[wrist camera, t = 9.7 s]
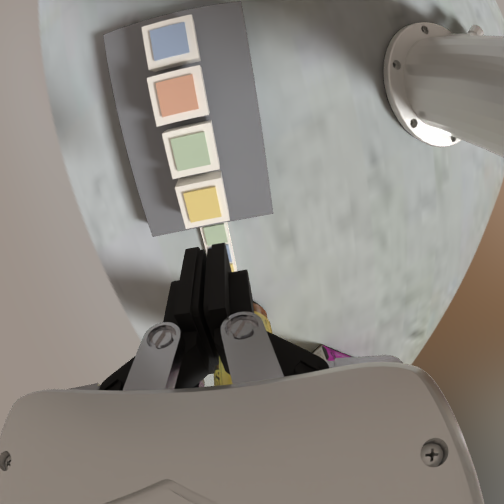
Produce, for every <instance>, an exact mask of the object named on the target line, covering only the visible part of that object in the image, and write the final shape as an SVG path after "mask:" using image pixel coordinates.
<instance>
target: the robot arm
mask: <svg viewBox="0 0 504 504" xmlns="http://www.w3.org/2000/svg"><path fill="white" fill-rule="evenodd" d="M483 35H484V32H483V30H482V29H481V28H480V27H479V26H477V25H473V26H472V27H471V28H470V30H469V31H468V33H463V34H453V33H452V32H451V31H449V30H448V29H446V28H444V27H442V26H440V25H437V24H434V23H428V22H420V23H414V24H411V25H407V26H405V27H404V28H402V29H401V30H399V31H398V32H397V33H396V34H395V35H394V37H393V38H392V39H391V41H390V43H389V45H388V47H387V51H386V54H385V58H384V70H383V74H384V85H385V89H386V93H387V98H388V100H389V103H390V105H391V108H392V110H393V112H394V114H395V116H396V117H397V119H398V121H399V122H400V123H401V125H402V126H403V127H404V128H405V130H406V131H408V132H409V133H410V134H411V135H412V136H413V137H415V138H416V139H418V140H420V141H421V142H424V143H426V144H429V145H431V146H437V147H448V146H452V145H455V144H457V143H458V142H460V141H461V140H463V141H466V142H469V143H471V144H474V145H476V146H478V147H481V148H483V149H486V150H488V151H490V152H492V153H495V154H497V155H499V156H501V157H503V158H504V37H503V36H483ZM219 357H220V360H221V362H222V364H223V366H224V369H225V372H227V373H228V374H230V375H231V379H232V383H233V384H229V385H220V386H210V387H204V383H205V382H204V378H205V377H206V376H207V375H208V374H213V373H215V365H219ZM422 446H423V447H422ZM0 504H484V501H483V497H482V493H481V489H480V485H479V481H478V477H477V474H476V471H475V468H474V465H473V462H472V459H471V456H470V453H469V450H468V448H467V445H466V442H465V440H464V437H463V434H462V432H461V429H460V427H459V425H458V423H457V420H456V418H455V416H454V414H453V412H452V410H451V408H450V406H449V404H448V402H447V400H446V399H445V397H444V395H443V393H442V392H441V390H440V389H439V387H438V385H437V384H436V383H435V381H434V380H433V379H432V378H431V377H430V376H429V375H428V374H427V373H426V372H425V371H423V370H422V369H420V368H418V367H416V366H413V365H409V364H404V363H403V362H402V361H401V360H400V359H399V358H397V357H394V356H391V355H380V356H365V357H345V358H335V361H325V360H324V359H323V358H321V357H319V356H317V355H315V354H313V353H311V352H309V351H307V350H305V349H303V348H300V347H298V346H296V345H294V344H292V343H290V342H288V341H286V340H284V339H282V338H280V337H278V336H276V335H274V334H272V333H270V332H268V331H266V329H265V326H264V323H263V321H262V319H261V318H260V317H259V316H258V315H257V314H255V313H254V307H253V299H252V293H251V287H250V282H249V276H248V271H247V270H242V271H236V272H232V271H231V267H230V262H229V258H228V253H227V249H226V245H225V242H224V243H218V244H213V245H212V248H209V249H207V257H206V253H205V250H204V249H203V250H200V248H199V247H195V248H189V249H186V250H185V255H184V260H183V265H182V270H181V276H180V280H179V281H173V282H172V283H171V287H170V291H169V296H168V301H167V306H166V311H165V316H164V321H163V322H162V323H159V324H156V325H154V326H152V327H151V328H149V329H148V330H147V331H146V333H145V335H144V336H143V339H142V341H141V344H140V346H139V349H138V351H137V354H136V356H135V357H134V358H132V359H131V360H130V361H129V362H127V363H126V364H125V365H123V366H122V367H121V368H120V369H118V370H117V371H116V372H114V373H113V374H112V375H111V376H109V377H108V378H107V379H106V380H105V381H104V382H103V383H102V384H101V385H99V384H98V383H96V384H91V385H86V386H81V387H76V388H71V389H51V390H42V391H36V392H32V393H30V394H27V395H25V396H23V397H21V398H20V399H18V400H17V401H16V402H15V403H14V404H13V406H12V408H11V410H10V412H9V414H8V417H7V419H6V421H5V424H4V427H3V430H2V433H1V436H0Z"/></svg>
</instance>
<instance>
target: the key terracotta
mask: <svg viewBox="0 0 504 504" xmlns="http://www.w3.org/2000/svg"><path fill="white" fill-rule="evenodd" d="M147 83H148V88H149V93H150V98H151V102H152V107H153V112H154V117H155V121H156V126H157V127H158V126H162V125H166V124H170V123H174V122H178V121H182V120H187V119H191V118H196V117H201V116H205V115H209V113H210V112H209V107H208V101H207V96H206V90H205V85H204V79H203V74H202V68H201V66H200V65H197V66H192V67H188V68H183V69H179V70H175V71H171V72H167V73H163V74H159V75H156V76H152V77H148V78H147Z"/></svg>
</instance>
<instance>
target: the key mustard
mask: <svg viewBox="0 0 504 504" xmlns="http://www.w3.org/2000/svg"><path fill="white" fill-rule="evenodd" d="M175 190H176V194H177V198H178V202H179V206H180V209H181V213H182V217H183V220H184V224H185V228H186V229H189V228H194V227H199V226H204V225H209V224H214V223H219V222H224V221H230V217H229V209H228V203H227V198H226V193H225V188H224V183H223V178H222V173H221V170H218V171H213V172H208V173H203V174H199V175H194V176H189V177H185V178H180V179H178V181H177V183H176V186H175Z"/></svg>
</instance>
